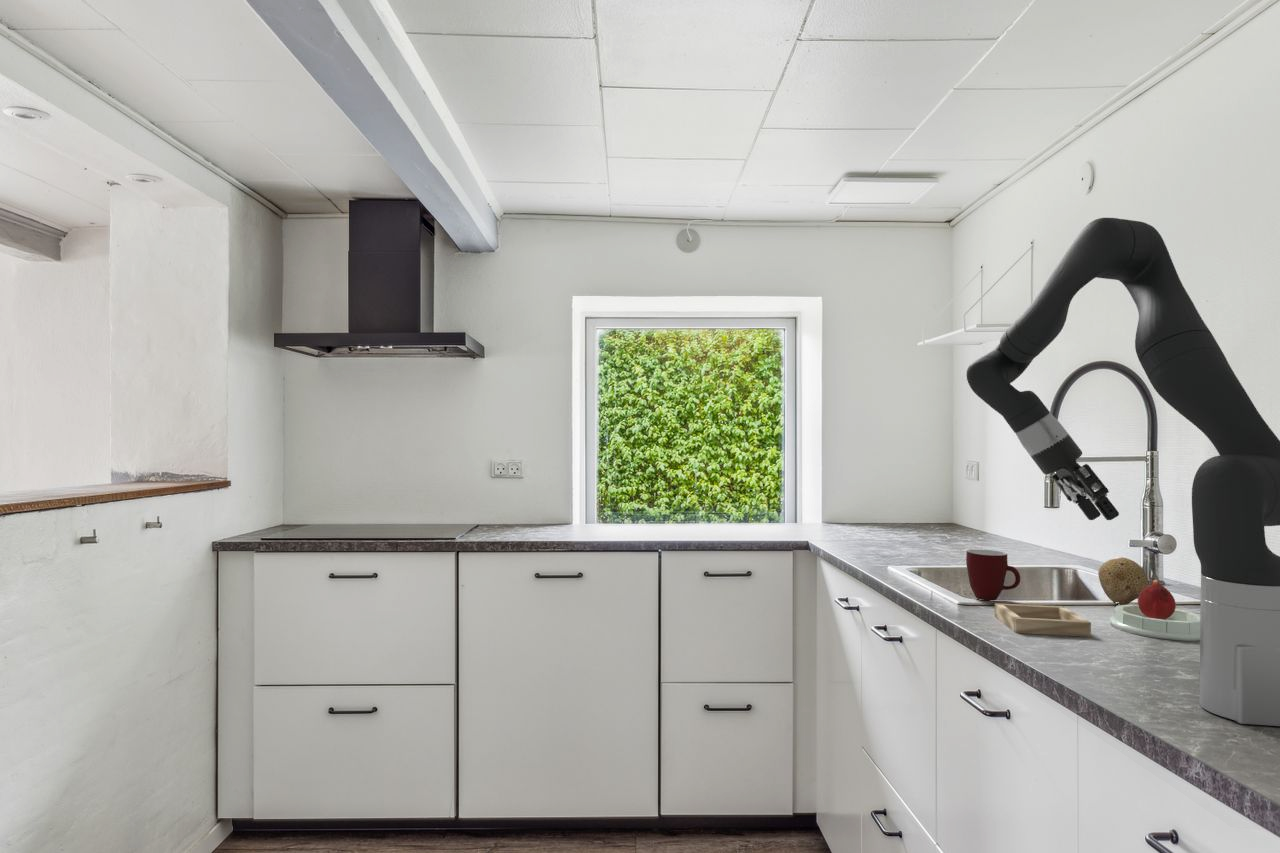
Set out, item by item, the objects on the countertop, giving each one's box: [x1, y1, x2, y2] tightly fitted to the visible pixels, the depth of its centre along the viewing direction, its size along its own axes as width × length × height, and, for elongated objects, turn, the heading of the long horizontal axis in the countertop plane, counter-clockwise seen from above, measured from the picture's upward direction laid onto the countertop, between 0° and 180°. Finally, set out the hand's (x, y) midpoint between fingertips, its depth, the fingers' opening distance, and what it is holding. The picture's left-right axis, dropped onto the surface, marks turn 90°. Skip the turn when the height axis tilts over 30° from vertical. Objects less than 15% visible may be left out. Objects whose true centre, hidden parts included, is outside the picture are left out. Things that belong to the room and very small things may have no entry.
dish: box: [1109, 603, 1200, 642], centre depth 139 cm, size 15×15×3 cm
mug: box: [965, 549, 1021, 602], centre depth 162 cm, size 11×8×10 cm
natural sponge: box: [1097, 557, 1151, 605], centre depth 158 cm, size 9×9×10 cm
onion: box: [1137, 579, 1177, 620], centre depth 139 cm, size 6×6×8 cm
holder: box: [994, 602, 1092, 638], centre depth 140 cm, size 12×12×2 cm
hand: (1104, 517), depth 137 cm, fingers open, 8 cm apart
